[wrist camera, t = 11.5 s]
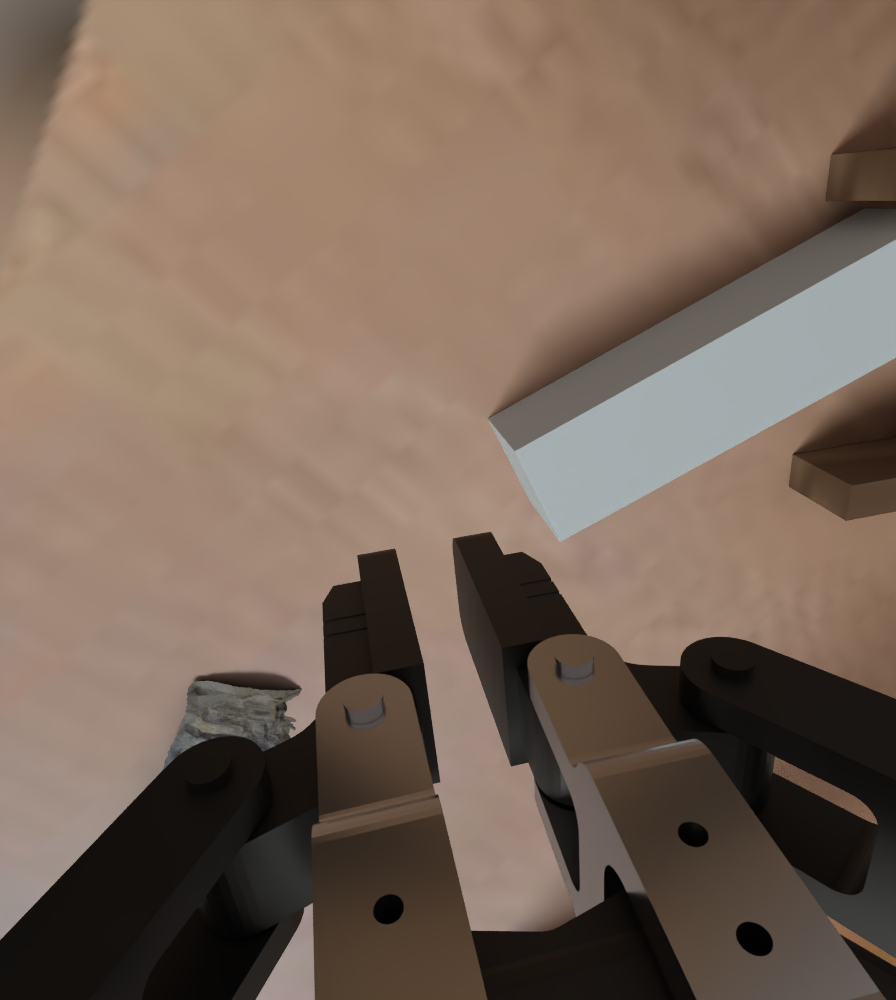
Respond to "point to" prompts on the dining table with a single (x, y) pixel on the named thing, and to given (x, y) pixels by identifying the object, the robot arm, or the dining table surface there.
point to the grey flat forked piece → (233, 716)
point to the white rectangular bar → (708, 375)
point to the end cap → (870, 465)
